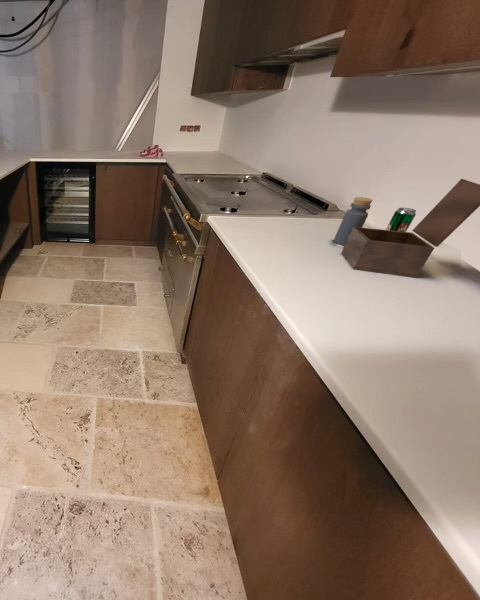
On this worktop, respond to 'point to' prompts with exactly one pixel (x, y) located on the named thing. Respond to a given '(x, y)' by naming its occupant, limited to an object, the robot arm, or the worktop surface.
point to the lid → (449, 212)
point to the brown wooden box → (386, 251)
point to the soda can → (401, 219)
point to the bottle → (353, 219)
